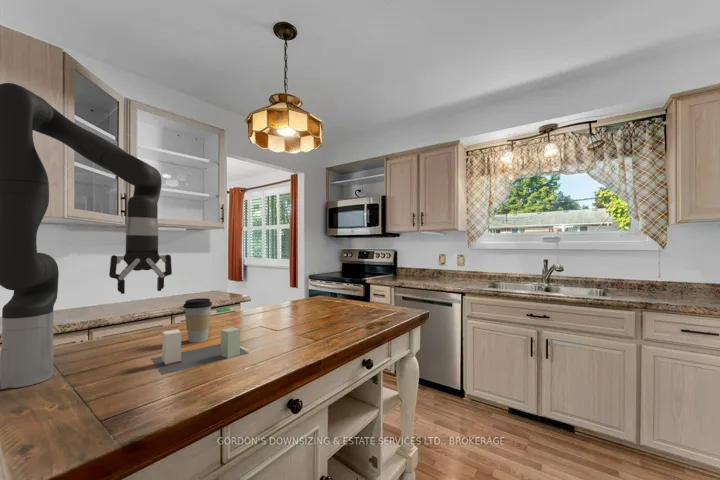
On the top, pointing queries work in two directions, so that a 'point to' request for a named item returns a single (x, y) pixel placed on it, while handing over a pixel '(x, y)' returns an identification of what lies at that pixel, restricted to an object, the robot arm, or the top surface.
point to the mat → (193, 359)
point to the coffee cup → (197, 318)
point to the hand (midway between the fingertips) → (141, 292)
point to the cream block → (171, 347)
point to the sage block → (230, 342)
